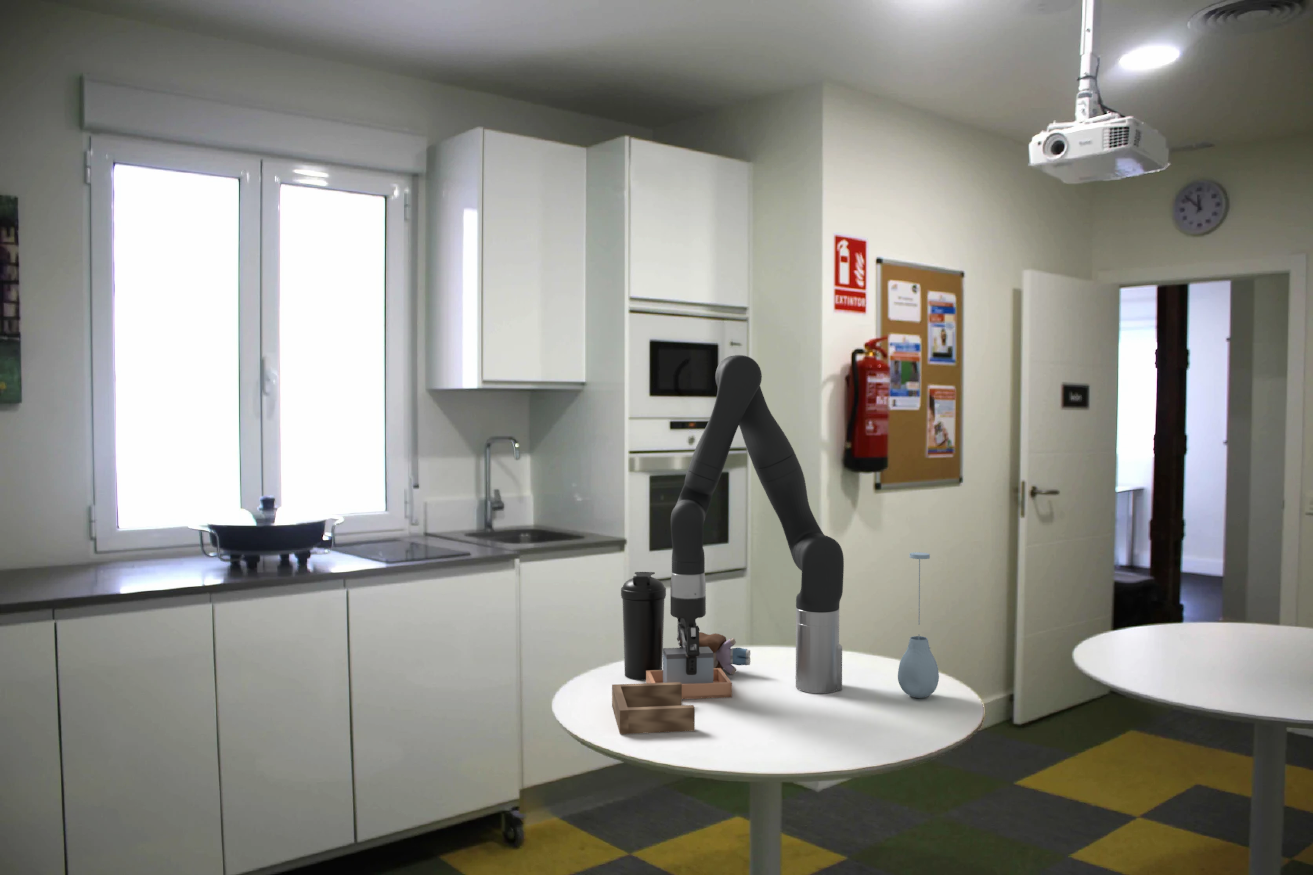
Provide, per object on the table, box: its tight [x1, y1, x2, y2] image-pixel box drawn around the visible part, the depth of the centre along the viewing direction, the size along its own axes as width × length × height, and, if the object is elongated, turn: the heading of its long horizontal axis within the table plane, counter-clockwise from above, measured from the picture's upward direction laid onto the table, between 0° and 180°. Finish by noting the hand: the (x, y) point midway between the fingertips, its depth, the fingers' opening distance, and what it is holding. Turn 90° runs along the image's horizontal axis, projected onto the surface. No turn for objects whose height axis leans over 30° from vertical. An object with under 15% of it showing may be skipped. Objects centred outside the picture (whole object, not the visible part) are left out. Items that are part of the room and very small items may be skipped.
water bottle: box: [620, 571, 667, 681], centre depth 220 cm, size 10×10×23 cm
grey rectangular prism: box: [662, 647, 713, 684], centre depth 207 cm, size 10×6×8 cm, turn 98°
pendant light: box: [897, 551, 940, 699], centre depth 203 cm, size 8×8×30 cm
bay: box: [611, 682, 696, 735], centre depth 189 cm, size 14×17×4 cm
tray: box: [645, 668, 733, 700], centre depth 207 cm, size 17×12×3 cm
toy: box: [699, 631, 751, 675], centre depth 222 cm, size 9×8×15 cm
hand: (688, 669), depth 207 cm, fingers open, 8 cm apart
